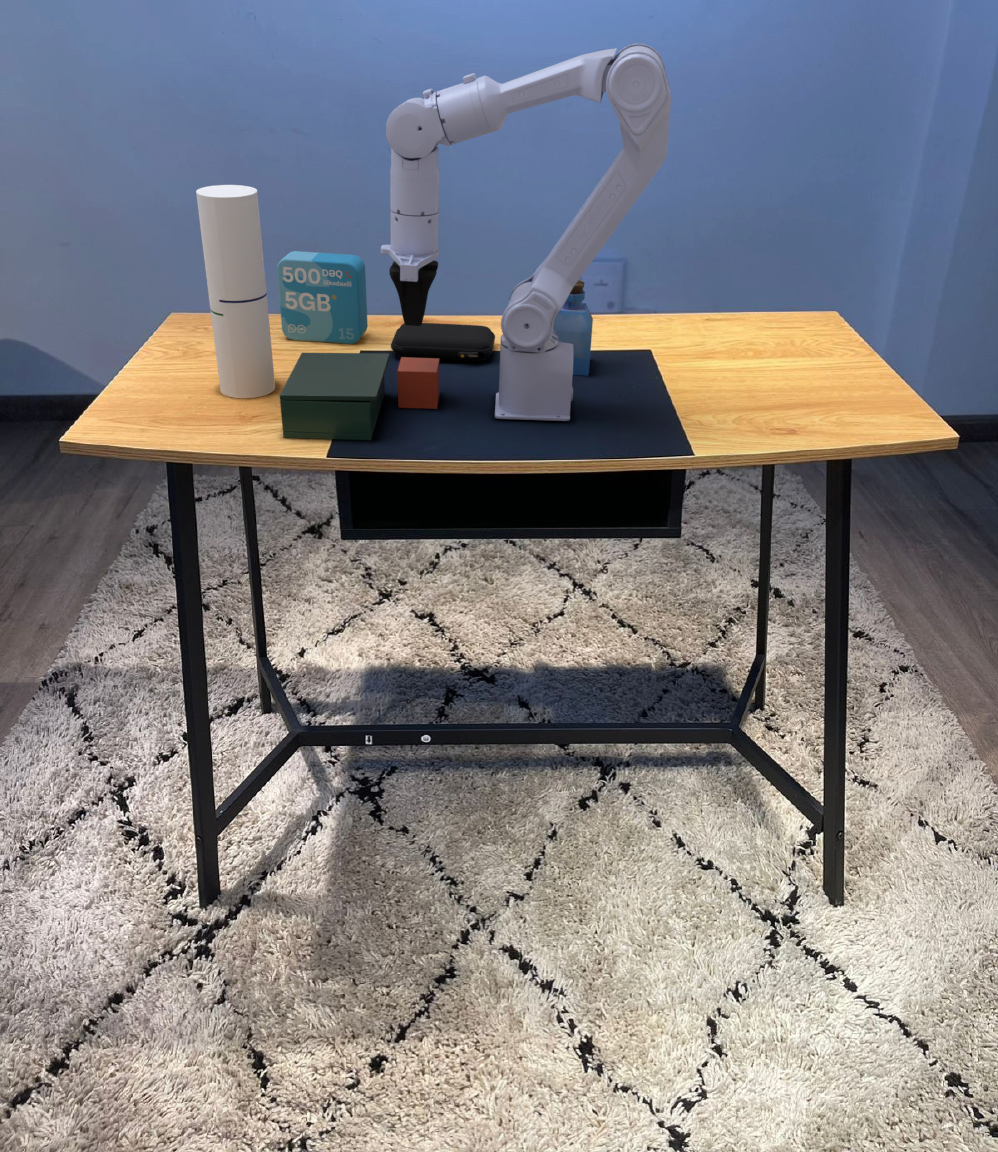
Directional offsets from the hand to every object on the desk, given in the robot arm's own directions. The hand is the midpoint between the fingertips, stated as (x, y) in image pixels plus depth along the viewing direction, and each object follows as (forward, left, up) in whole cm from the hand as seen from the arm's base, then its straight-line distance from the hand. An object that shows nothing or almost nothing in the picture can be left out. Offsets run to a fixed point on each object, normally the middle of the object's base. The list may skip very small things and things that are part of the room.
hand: (413, 322), depth 128 cm
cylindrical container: (+22, -2, -11) cm, 25 cm away
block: (-1, 0, -10) cm, 10 cm away
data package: (+15, -23, -11) cm, 30 cm away
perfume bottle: (-21, -14, -11) cm, 27 cm away
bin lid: (+9, +6, -5) cm, 12 cm away
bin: (+9, +6, -10) cm, 15 cm away
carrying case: (-3, -18, -11) cm, 21 cm away
